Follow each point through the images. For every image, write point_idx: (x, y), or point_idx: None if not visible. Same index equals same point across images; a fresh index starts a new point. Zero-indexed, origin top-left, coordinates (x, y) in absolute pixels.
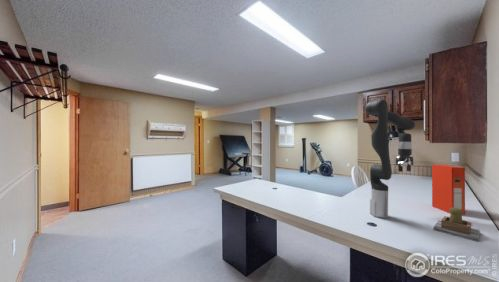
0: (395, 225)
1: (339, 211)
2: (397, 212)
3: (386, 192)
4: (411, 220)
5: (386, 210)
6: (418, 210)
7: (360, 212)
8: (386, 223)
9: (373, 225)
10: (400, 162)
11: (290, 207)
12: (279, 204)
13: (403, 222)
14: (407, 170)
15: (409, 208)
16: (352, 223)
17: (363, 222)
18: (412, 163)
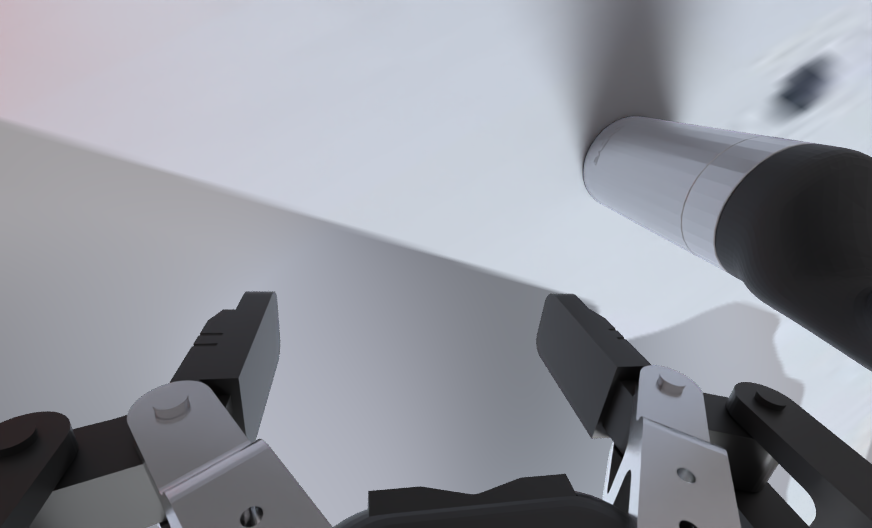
0: (728, 10)
1: (731, 284)
2: (453, 157)
3: (798, 141)
4: (544, 12)
5: (671, 121)
6: (233, 122)
7: (659, 238)
8: (733, 57)
9: (817, 71)
10: (826, 461)
11: (839, 382)
12: (834, 420)
13: (632, 17)
14: (276, 346)
15: (257, 181)
16: (859, 138)
17: (808, 124)
18: (14, 472)
